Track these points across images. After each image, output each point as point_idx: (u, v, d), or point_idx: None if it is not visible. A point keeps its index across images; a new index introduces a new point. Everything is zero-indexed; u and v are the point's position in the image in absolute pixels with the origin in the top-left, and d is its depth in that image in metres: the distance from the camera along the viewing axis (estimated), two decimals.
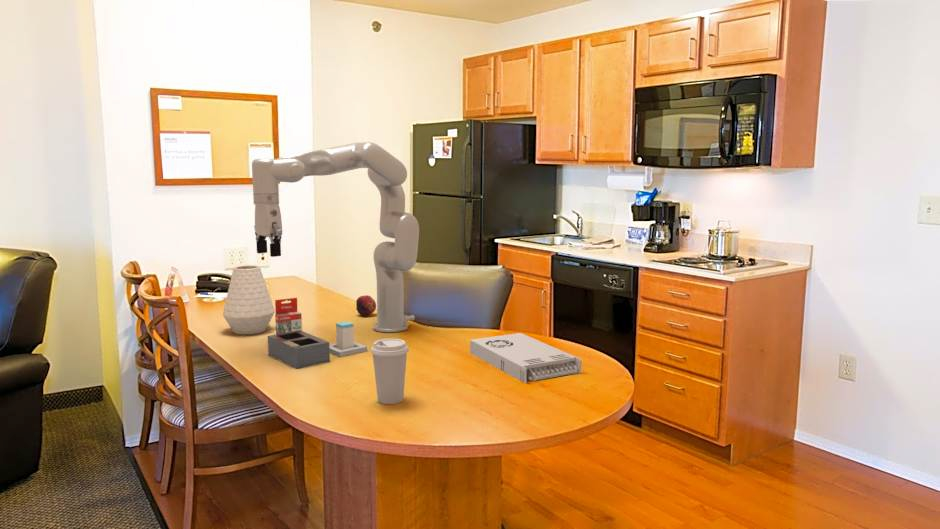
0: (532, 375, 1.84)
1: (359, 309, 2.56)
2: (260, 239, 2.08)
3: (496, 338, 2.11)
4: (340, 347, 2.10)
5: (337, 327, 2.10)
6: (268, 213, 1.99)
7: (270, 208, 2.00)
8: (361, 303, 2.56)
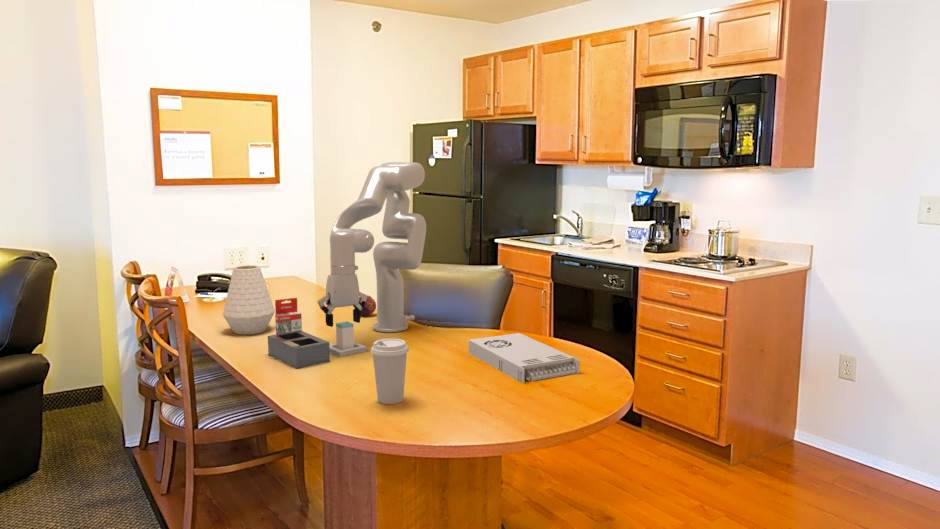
0: (530, 375, 1.83)
1: None
2: None
3: (495, 338, 2.11)
4: (340, 347, 2.10)
5: (337, 327, 2.10)
6: None
7: None
8: None
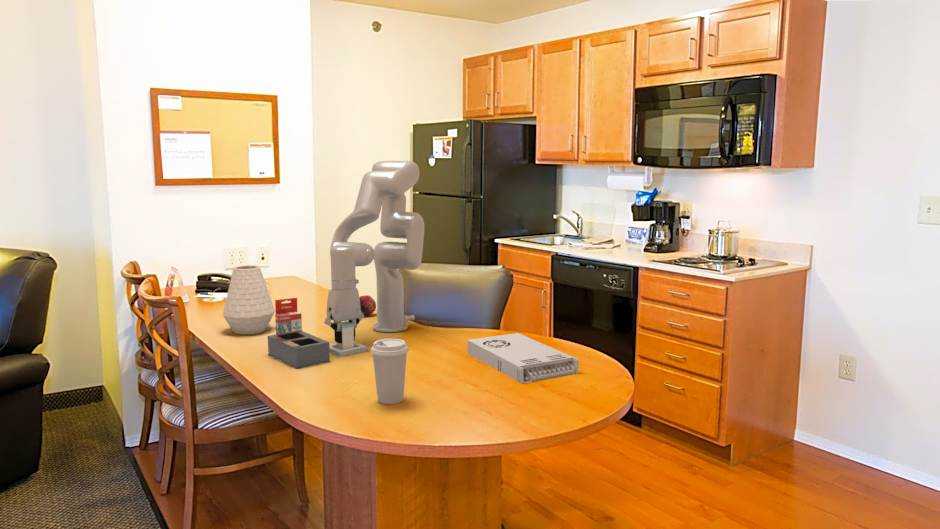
0: (529, 375, 1.83)
1: None
2: None
3: (493, 338, 2.11)
4: (340, 347, 2.10)
5: None
6: None
7: None
8: (361, 303, 2.56)
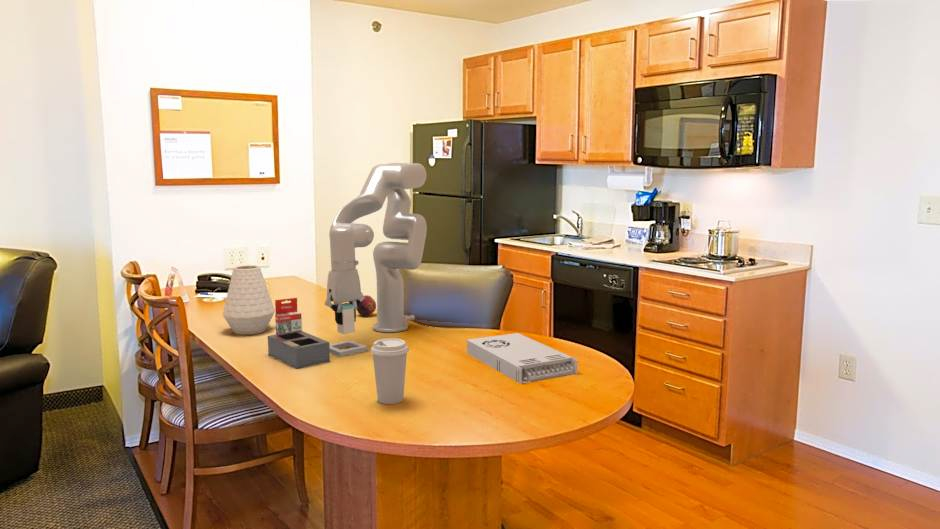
0: (527, 375, 1.83)
1: (359, 309, 2.56)
2: None
3: (493, 338, 2.11)
4: (341, 328, 2.10)
5: None
6: None
7: None
8: (361, 303, 2.56)
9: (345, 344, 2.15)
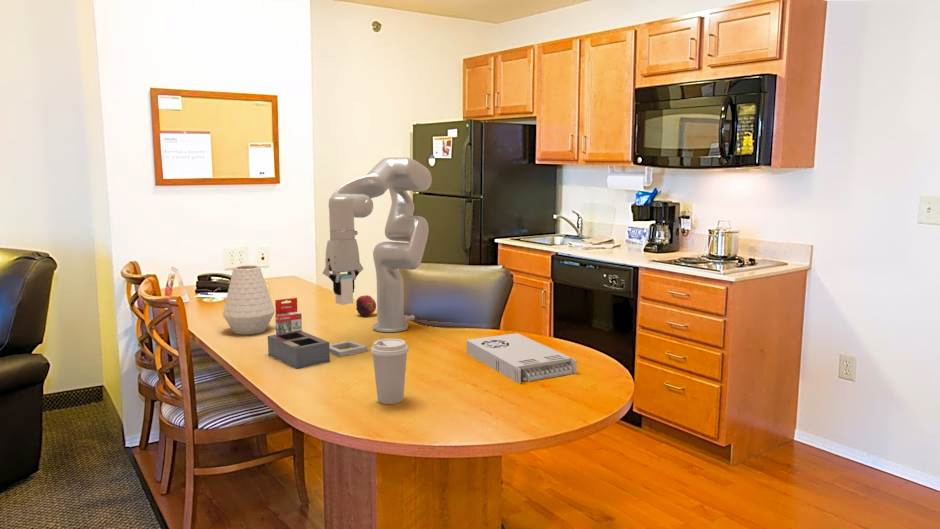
0: (526, 376, 1.83)
1: (359, 309, 2.56)
2: None
3: (492, 338, 2.11)
4: (339, 299, 2.08)
5: None
6: (357, 247, 2.09)
7: None
8: (361, 303, 2.56)
9: (345, 344, 2.15)
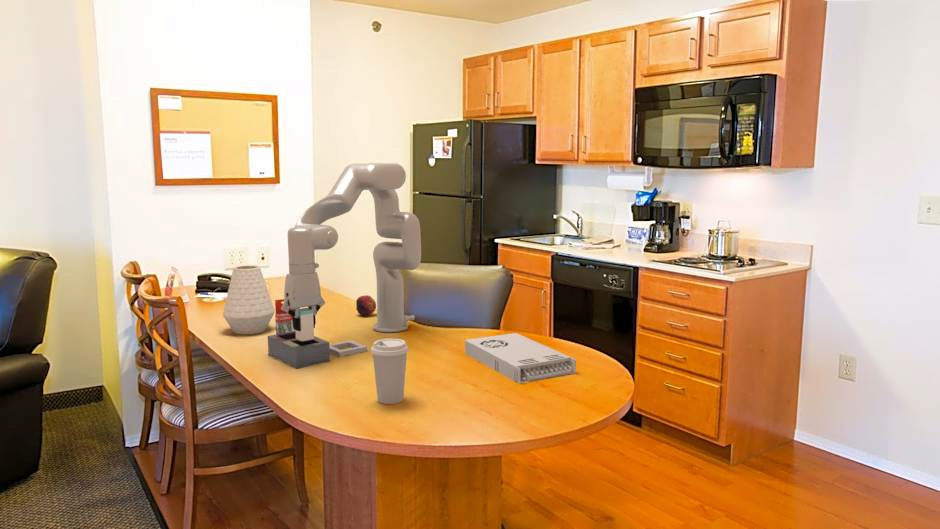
0: (526, 375, 1.83)
1: (359, 309, 2.56)
2: None
3: (491, 338, 2.10)
4: (299, 335, 1.98)
5: None
6: None
7: None
8: (361, 303, 2.56)
9: (345, 344, 2.15)
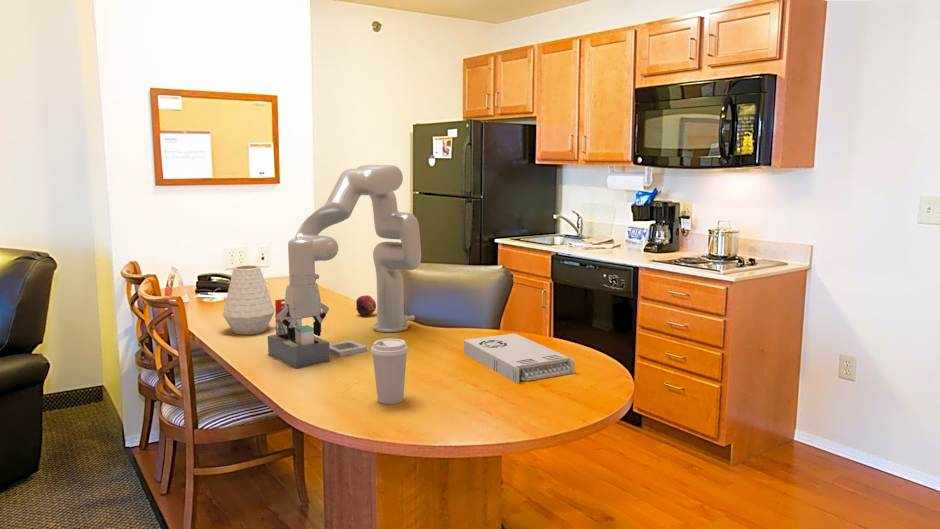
0: (525, 375, 1.83)
1: (359, 309, 2.56)
2: None
3: (490, 338, 2.10)
4: None
5: (296, 331, 1.99)
6: None
7: None
8: (361, 303, 2.56)
9: (345, 344, 2.15)
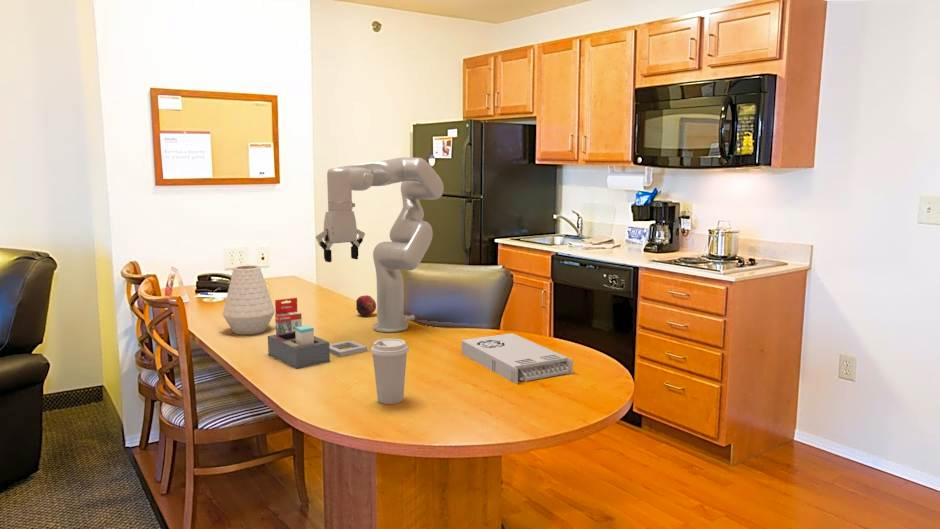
0: (523, 376, 1.83)
1: (359, 309, 2.56)
2: None
3: (488, 338, 2.10)
4: None
5: (296, 331, 1.99)
6: (355, 219, 2.14)
7: None
8: (361, 303, 2.56)
9: (345, 344, 2.15)
